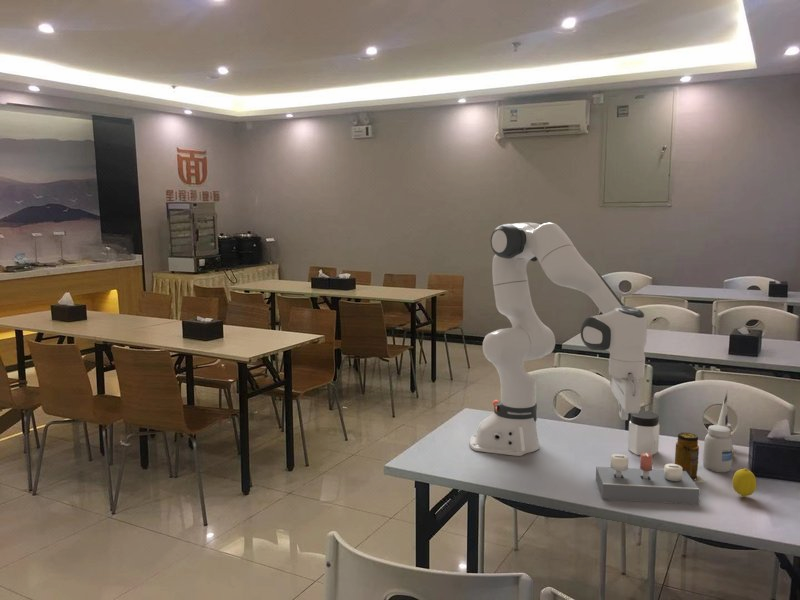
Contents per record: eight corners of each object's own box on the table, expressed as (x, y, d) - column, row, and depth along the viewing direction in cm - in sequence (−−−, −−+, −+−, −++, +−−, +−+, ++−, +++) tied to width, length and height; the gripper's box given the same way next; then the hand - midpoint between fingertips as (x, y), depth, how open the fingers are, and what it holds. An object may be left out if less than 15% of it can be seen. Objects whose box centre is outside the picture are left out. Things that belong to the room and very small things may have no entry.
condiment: (692, 470, 187) (694, 430, 185) (706, 482, 179) (708, 441, 177) (667, 470, 187) (669, 431, 185) (680, 482, 179) (682, 441, 177)
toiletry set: (730, 475, 183) (734, 406, 180) (701, 470, 187) (705, 402, 184) (736, 447, 204) (741, 385, 201) (710, 442, 208) (714, 381, 205)
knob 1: (611, 484, 172) (612, 459, 171) (608, 477, 176) (609, 453, 175) (628, 485, 171) (629, 460, 170) (625, 478, 176) (626, 453, 174)
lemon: (728, 492, 172) (730, 463, 171) (749, 492, 172) (751, 464, 171) (736, 501, 167) (738, 472, 166) (758, 502, 166) (761, 473, 165)
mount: (602, 499, 169) (603, 484, 168) (595, 479, 181) (596, 465, 180) (698, 504, 165) (699, 489, 165) (685, 484, 177) (685, 470, 177)
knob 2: (665, 494, 170) (667, 469, 169) (661, 487, 174) (662, 462, 173) (683, 495, 169) (684, 470, 168) (678, 488, 174) (679, 463, 173)
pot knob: (640, 485, 171) (642, 456, 170) (638, 480, 174) (639, 451, 173) (652, 485, 171) (653, 456, 170) (649, 480, 174) (651, 452, 173)
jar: (649, 458, 196) (651, 421, 194) (623, 451, 201) (625, 414, 200) (661, 450, 202) (663, 414, 200) (637, 444, 207) (638, 408, 206)
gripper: (648, 380, 159) (645, 433, 161) (630, 359, 179) (627, 406, 181) (622, 379, 159) (619, 431, 162) (607, 358, 179) (604, 405, 182)
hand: (623, 418), depth 171 cm, fingers closed
